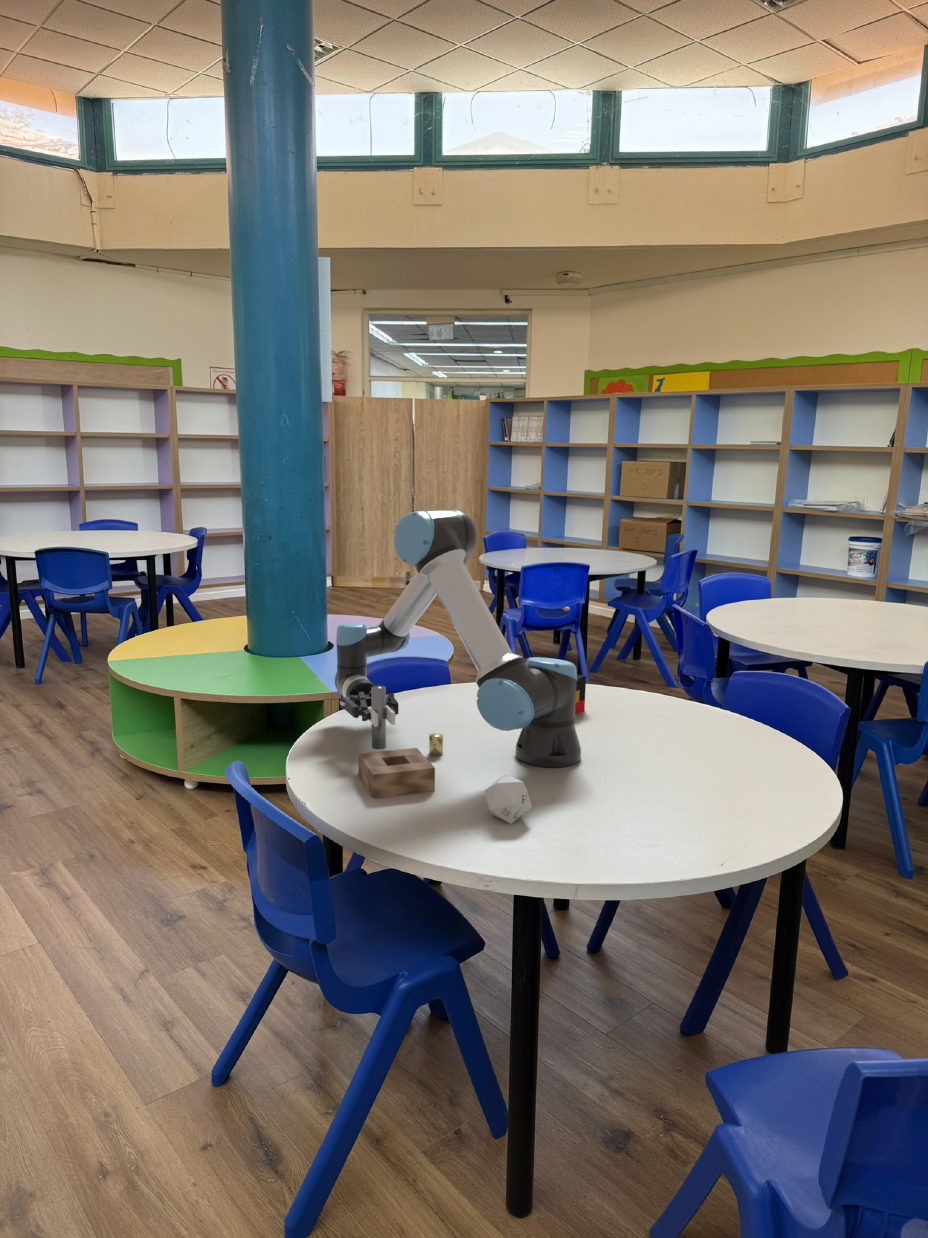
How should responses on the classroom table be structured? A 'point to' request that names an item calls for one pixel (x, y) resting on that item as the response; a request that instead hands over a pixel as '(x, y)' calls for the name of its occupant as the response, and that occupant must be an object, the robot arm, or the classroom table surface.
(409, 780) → the hole block
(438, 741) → the short brass pin
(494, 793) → the die
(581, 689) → the puzzle toy
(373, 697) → the long metal pin
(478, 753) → the classroom table surface
